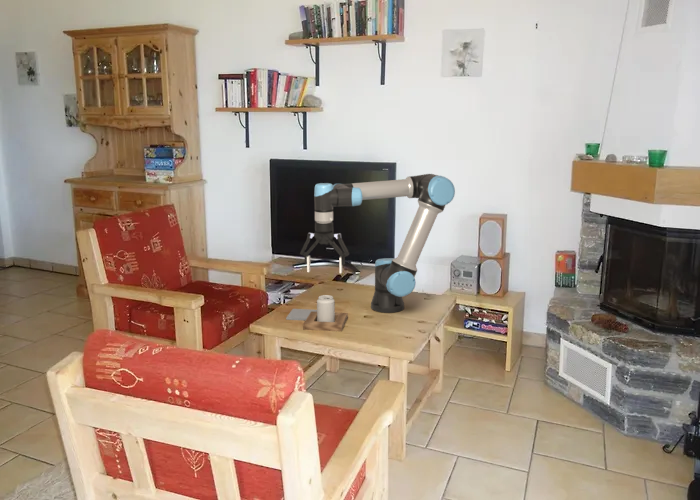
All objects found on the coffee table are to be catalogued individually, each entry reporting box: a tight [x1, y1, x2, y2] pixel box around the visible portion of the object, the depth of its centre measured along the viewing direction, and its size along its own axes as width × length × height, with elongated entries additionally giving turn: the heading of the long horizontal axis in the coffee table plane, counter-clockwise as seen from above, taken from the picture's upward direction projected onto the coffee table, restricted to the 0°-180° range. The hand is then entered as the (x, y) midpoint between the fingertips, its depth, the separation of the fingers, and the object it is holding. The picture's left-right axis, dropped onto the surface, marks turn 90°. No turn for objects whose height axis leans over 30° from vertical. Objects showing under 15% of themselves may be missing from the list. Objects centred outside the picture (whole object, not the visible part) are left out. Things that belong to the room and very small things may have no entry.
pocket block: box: [302, 311, 349, 332], centre depth 250 cm, size 16×16×2 cm
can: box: [316, 294, 336, 322], centre depth 249 cm, size 8×8×12 cm
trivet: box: [286, 308, 317, 321], centre depth 260 cm, size 12×12×1 cm
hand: (324, 272), depth 245 cm, fingers open, 13 cm apart
